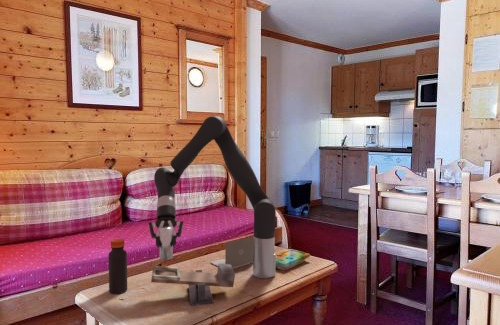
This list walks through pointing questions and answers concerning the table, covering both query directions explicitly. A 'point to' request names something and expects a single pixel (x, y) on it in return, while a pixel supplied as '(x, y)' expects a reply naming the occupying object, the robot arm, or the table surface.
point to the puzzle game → (290, 259)
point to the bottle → (117, 267)
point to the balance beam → (194, 276)
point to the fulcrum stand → (200, 294)
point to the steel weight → (166, 242)
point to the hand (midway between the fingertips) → (166, 246)
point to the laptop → (237, 253)
